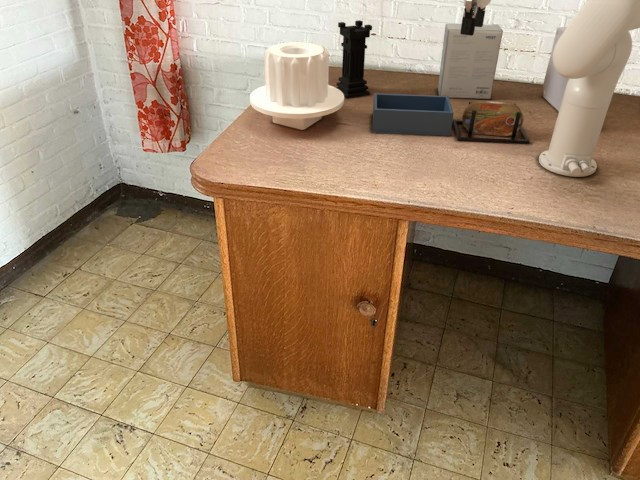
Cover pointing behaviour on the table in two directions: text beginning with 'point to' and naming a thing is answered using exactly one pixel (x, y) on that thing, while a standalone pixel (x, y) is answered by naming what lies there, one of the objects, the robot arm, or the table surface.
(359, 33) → the chess piece
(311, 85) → the flanged gear
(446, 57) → the hard drive box
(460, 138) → the rack
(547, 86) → the game console
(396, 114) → the open box
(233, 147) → the table surface
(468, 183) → the table surface
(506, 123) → the tin
